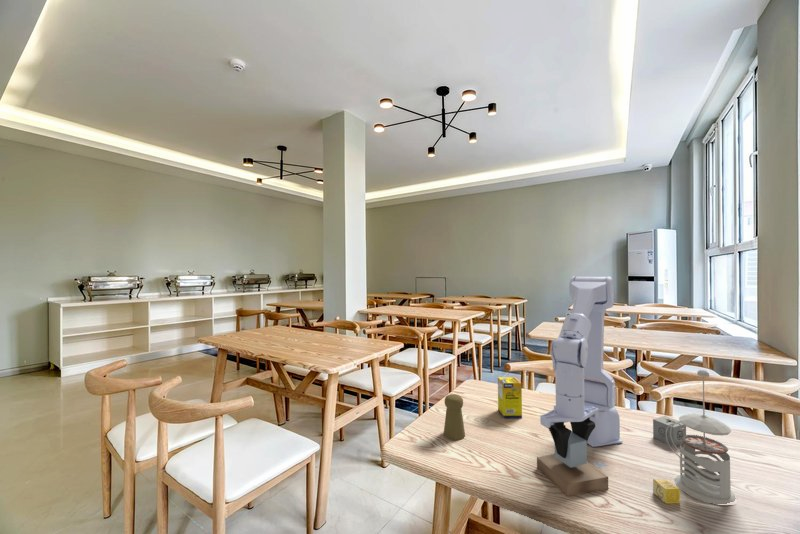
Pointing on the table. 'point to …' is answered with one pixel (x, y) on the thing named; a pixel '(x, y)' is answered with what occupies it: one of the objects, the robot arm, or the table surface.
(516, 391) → the supplement box
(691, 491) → the french press
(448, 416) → the olive pawn
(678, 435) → the dice cube
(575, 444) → the slate block
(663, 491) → the alphabet block
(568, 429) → the robot arm
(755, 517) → the table surface
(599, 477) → the walnut block
